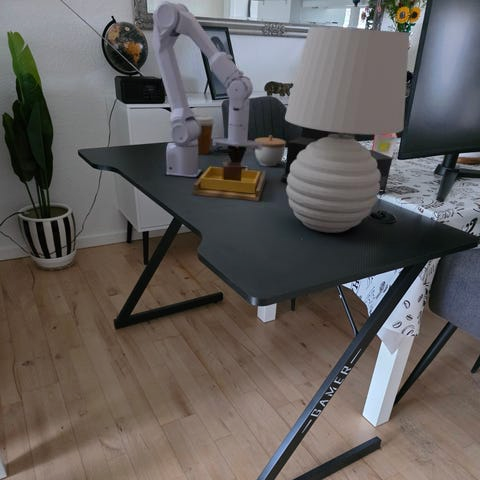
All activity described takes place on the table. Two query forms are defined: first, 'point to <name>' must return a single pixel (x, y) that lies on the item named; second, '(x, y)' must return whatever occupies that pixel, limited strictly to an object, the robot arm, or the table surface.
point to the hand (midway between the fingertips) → (235, 172)
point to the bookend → (302, 145)
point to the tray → (247, 183)
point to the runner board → (230, 194)
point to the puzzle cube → (384, 143)
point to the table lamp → (344, 121)
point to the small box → (382, 168)
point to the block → (231, 171)
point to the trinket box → (270, 151)
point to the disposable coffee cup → (204, 133)
